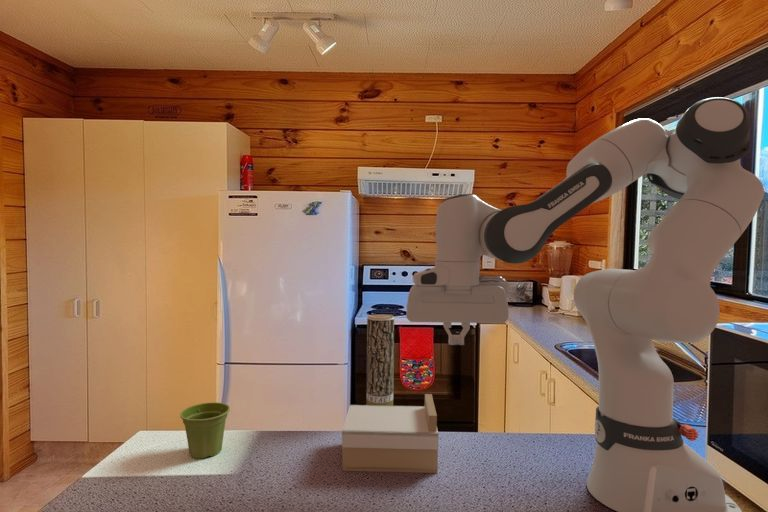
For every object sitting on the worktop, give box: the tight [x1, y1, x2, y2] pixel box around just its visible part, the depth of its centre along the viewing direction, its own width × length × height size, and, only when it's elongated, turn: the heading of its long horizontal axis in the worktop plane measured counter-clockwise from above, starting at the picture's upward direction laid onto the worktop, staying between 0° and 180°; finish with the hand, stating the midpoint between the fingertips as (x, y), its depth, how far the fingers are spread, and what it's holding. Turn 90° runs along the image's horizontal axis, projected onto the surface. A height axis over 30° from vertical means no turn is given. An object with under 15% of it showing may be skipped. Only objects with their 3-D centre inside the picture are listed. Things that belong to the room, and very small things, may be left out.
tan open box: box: [341, 447, 439, 474], centre depth 88 cm, size 18×12×7 cm, turn 88°
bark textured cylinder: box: [366, 313, 395, 406], centre depth 110 cm, size 7×7×25 cm
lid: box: [341, 393, 439, 451], centre depth 88 cm, size 18×14×6 cm
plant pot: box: [179, 401, 231, 460], centre depth 89 cm, size 9×9×9 cm
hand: (456, 344), depth 87 cm, fingers closed
